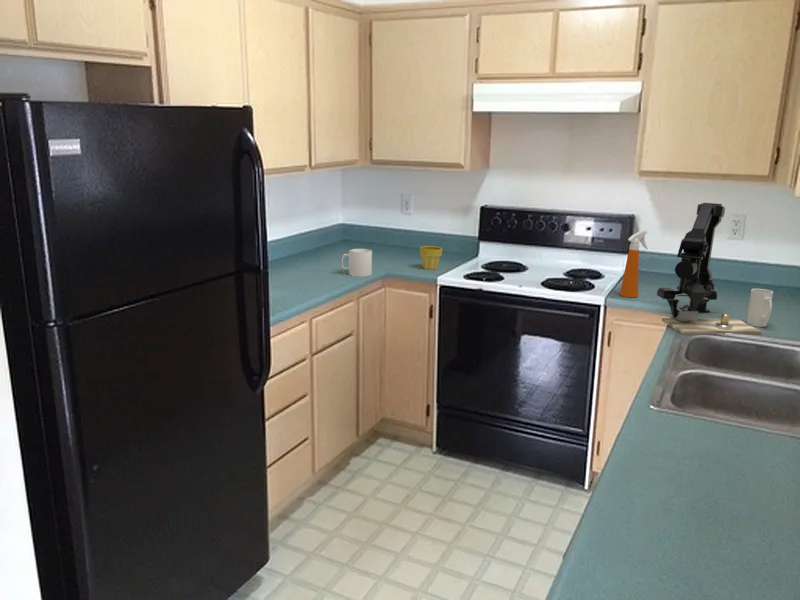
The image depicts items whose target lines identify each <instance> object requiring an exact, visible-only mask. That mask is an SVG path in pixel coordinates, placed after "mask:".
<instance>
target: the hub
mask: <svg viewBox="0 0 800 600" xmlns="http://www.w3.org/2000/svg"><path fill="white" fill-rule="evenodd" d="M730 316H731V315H730V314H728V313H722V314H721V315H720V319H721V322H719V323H716V324H715V327H716V328H719V329H724V330H731V329H732V328H733V325H731V324H728V323H729V319H730Z"/></svg>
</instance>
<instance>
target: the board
mask: <svg viewBox="0 0 800 600" xmlns="http://www.w3.org/2000/svg"><path fill="white" fill-rule="evenodd" d="M661 322H663V323H664V324H666V325H668V326H669V327H671V328H672V329H673V330H675V331H677V332H678V333H680V334H683V335H685V334H688V335H690V334H691V335H696V334H697V335H698V334H699V335H717V334H716V333H723V334H722V335H726V334H725V333H733V334H732V335H762V330H760V329H758V328H757V327H755V326H752V325H749V324H747V322H744V321H742V320H740V319H738V318H729V323H728V324H731V325H733V328H732V329H731V330H724V329H719V328H716V327H715V324H716V323H719V322H721V318H711V317H710V318H705V317H704V318H703V317H702V318H699V317H698V320H690V322H680V321H677V318H673V317H661Z"/></svg>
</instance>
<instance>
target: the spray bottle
mask: <svg viewBox="0 0 800 600" xmlns="http://www.w3.org/2000/svg"><path fill="white" fill-rule="evenodd" d="M646 234H648V230H647V229H646V230H639V231H638V232H635V233H634V234H632V235H630V237H628V239H627V240H628V242H630V244H629V249H628V254H627V258H626V263H625V268H624V271H623V277H622V281H621V287H620V292H619V295H620V296H621V297H624V298H627V299H628V298H629V299H633V298H634V299H635V298H638V297H639V265H640V264H639V263H640V256H639V255H640V253H639V251H640V250H639V249H640V244H639V243H641V245H642V246H643V248H644V249H646V250H648V249H649V248H648V246H647V244H646V241H645V237H646Z"/></svg>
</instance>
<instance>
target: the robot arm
mask: <svg viewBox="0 0 800 600" xmlns="http://www.w3.org/2000/svg"><path fill="white" fill-rule="evenodd" d="M725 212H726V207H725V206H723V205H722V203H714V202H703V203H700V204H697V209H696V218H695V220H694V223H693V225H692V229H691V230H690V231H688V232H686V233H685V235H684V237H683V238H682V239H681V242H680V245H679V249H678V252H677V255H676V257H677V258H681V261H680V262H678V263H677V264H676V265H675V267H674V273H675V274H676V276H677V278H678V279H679V283H678V285H677V286H676V290H674V289H673V288H670V287H659V288H658V289H657V292H656V296H658V297H659V298H662V299H663V300H666V301H667V303H668V305H669V308H670V313H671V312H672V315H673V316H672V315H671V316H672V318H676V313H677V307H678V303H680V300H679V299H678V297H688V298H689V304H688V305H689V307H691V308H693V309H695V310H697V311H699V312H700V313H710V310H709V309H708V308H707V303H708V302H710V301H711V300H714V301H715V300H716V301H717V300H718V293H717V291H716V290H715V284H714V280H713V274H712V272H711V269H710V263H711V258H712V252H713V251H712V250H713V246H714V245H713V243H714V237H715V232H716V228H717V227H718V226H719V224H720V223H721V222H722V220H723V218H724V216H725Z"/></svg>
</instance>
